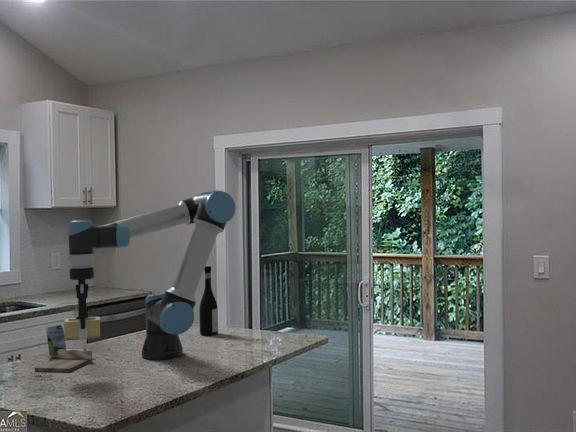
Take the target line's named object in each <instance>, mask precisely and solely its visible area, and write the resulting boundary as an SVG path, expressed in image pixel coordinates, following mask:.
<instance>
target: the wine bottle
mask: <svg viewBox="0 0 576 432" xmlns="http://www.w3.org/2000/svg"><path fill="white" fill-rule="evenodd" d="M199 302H200V303H199V315H198V316H199V333H200V335H201V336H205V337H211V336H215V335H218V332H219V312H218V303H217V300H216V298H215V295H214V293H213V289H212V266H209V265H206V266H205V269H204V291H203V294H202V297H201V299H200V301H199Z"/></svg>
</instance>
